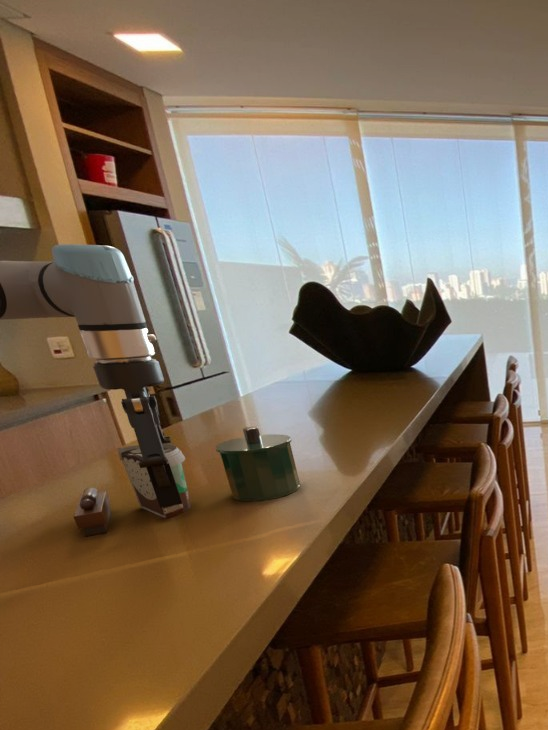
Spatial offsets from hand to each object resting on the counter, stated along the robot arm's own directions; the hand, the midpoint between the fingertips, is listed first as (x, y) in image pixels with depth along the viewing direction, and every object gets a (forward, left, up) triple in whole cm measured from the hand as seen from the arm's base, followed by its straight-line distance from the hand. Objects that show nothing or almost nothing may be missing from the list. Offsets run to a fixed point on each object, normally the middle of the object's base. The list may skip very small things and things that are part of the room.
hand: (170, 493), depth 92 cm
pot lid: (0, +13, +6) cm, 14 cm away
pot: (0, +13, -3) cm, 13 cm away
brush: (0, -9, -3) cm, 10 cm away
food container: (-1, 0, -3) cm, 3 cm away
